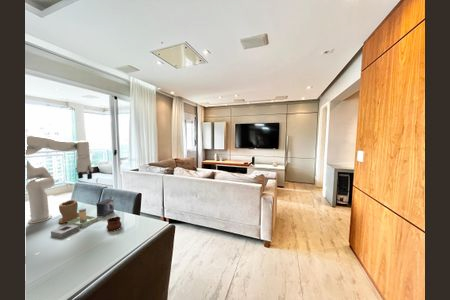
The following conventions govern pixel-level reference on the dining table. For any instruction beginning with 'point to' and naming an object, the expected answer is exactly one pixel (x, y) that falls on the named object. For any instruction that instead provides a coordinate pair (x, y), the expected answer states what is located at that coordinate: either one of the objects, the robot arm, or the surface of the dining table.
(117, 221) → the ceramic pot
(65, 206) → the stone cup
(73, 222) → the parts tray
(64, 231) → the holder block
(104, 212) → the small box
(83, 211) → the fuse
